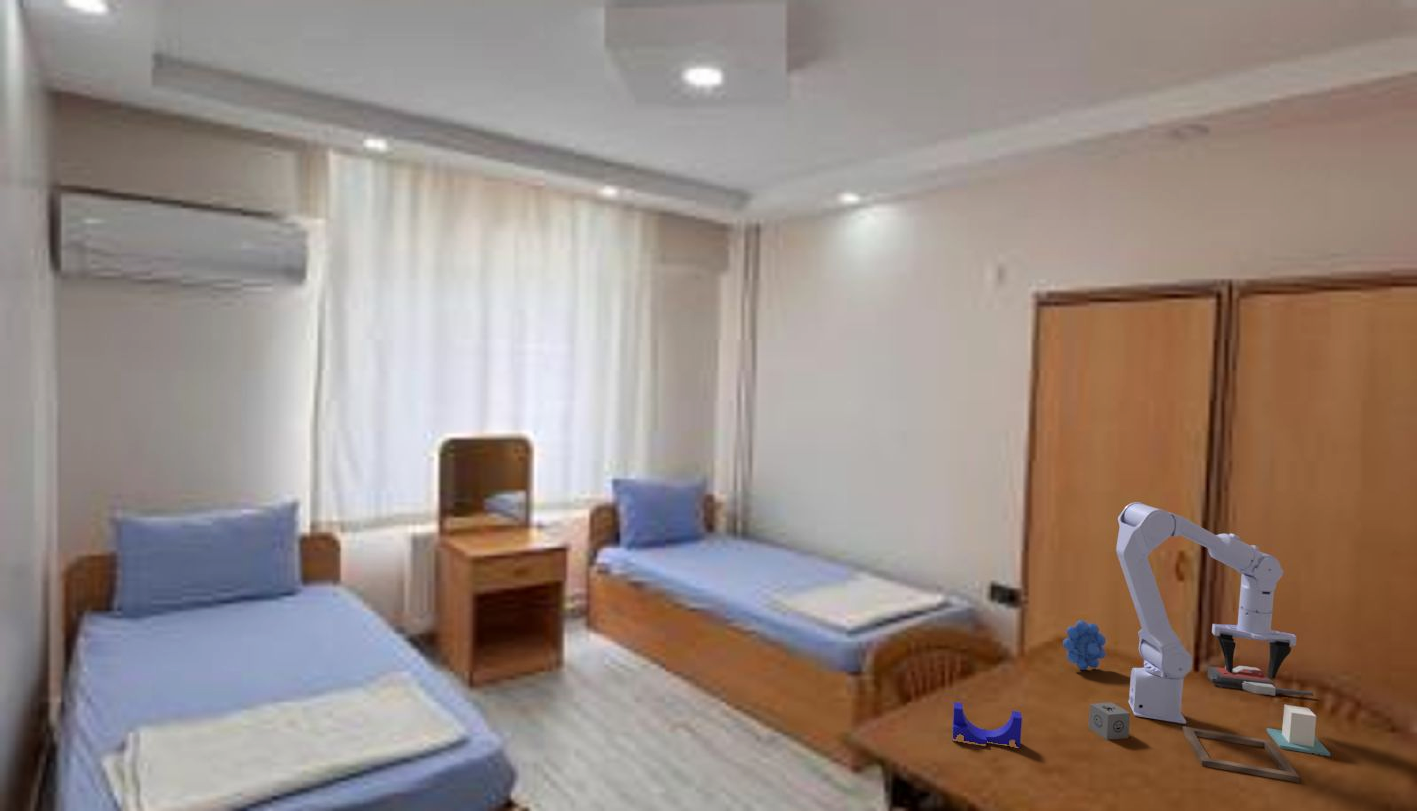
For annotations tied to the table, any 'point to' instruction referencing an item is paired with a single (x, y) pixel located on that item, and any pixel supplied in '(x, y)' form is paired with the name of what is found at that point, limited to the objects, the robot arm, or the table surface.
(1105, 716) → the dice cube
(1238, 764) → the brown square frame
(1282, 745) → the mat
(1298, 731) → the cream block
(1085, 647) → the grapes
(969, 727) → the blue cradle stand
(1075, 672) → the table surface
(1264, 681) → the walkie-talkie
